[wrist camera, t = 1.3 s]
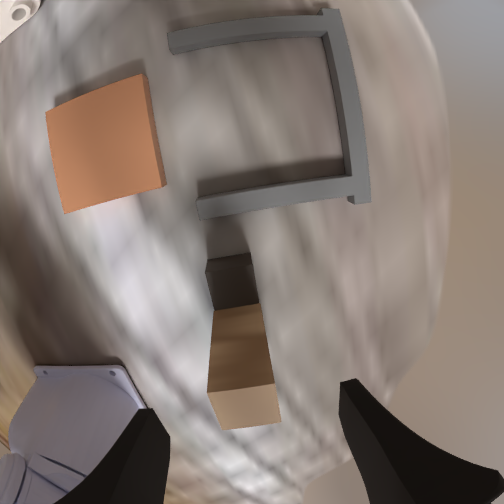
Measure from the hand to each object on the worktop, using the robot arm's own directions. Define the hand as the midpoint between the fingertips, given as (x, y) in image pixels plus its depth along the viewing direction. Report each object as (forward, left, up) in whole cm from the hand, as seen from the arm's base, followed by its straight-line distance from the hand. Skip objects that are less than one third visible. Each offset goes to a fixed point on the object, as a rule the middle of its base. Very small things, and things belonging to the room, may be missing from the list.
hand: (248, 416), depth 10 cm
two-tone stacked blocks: (0, 0, -8) cm, 8 cm away
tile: (-6, +11, -9) cm, 15 cm away
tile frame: (+3, +11, -8) cm, 14 cm away
